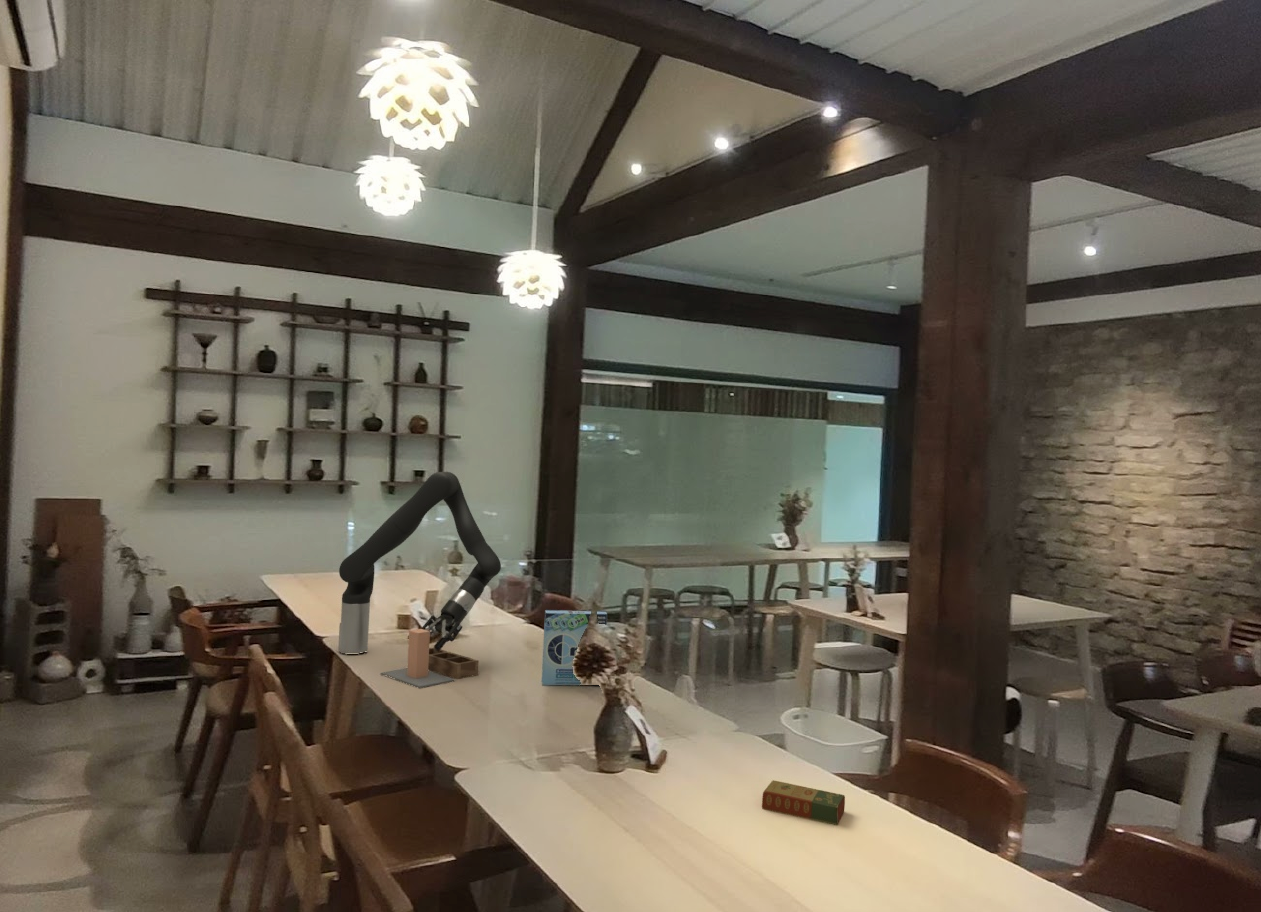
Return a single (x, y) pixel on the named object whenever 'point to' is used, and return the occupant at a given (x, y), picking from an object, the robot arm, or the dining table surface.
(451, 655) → the stand
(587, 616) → the gum box
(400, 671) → the mat
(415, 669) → the block
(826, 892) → the dining table surface
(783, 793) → the carton
